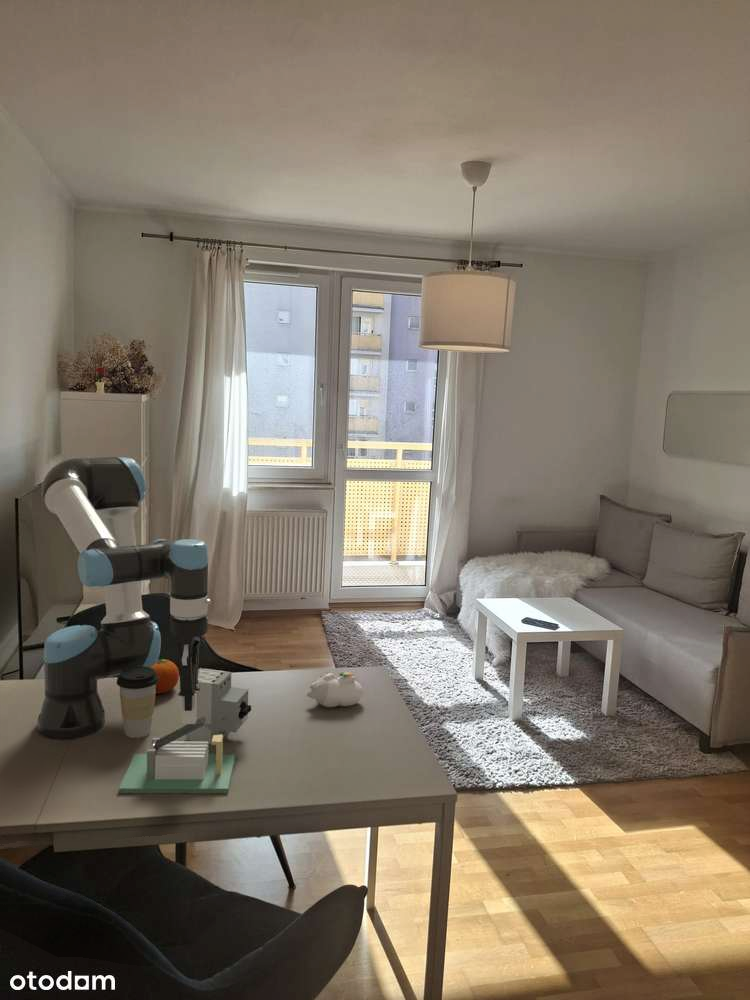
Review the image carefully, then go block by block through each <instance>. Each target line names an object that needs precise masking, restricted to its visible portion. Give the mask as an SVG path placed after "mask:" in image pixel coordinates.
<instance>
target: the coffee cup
mask: <svg viewBox="0 0 750 1000" xmlns="http://www.w3.org/2000/svg"><path fill="white" fill-rule="evenodd" d="M158 680H159V679H158V675H157V674H156V673H155V670H154V669H152V668H150V667H144V666H138V667H131V668H127V669H125V670H123V671H122V672H121V673H120V675H118V676H117V679H116V685H117V686H118V687H119V699H120V708H121V715H122V719H123V720H122V721H123V728H124V735H125V736H126V737H128V738H131V739H139V738H144V737H146V736H149V735H150V733H151V730H152V722H153V715H154V712H155V711H154V709H155V700H156V694H157V693H156V690H155V687H156V683H157V682H158Z"/></svg>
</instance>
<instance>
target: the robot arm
mask: <svg viewBox="0 0 750 1000" xmlns="http://www.w3.org/2000/svg"><path fill="white" fill-rule="evenodd" d="M146 486H147V485H146V480H145V476H144V472H143V470H142V468H141V466H140V464H138V462H137V461H136V460H135V459H133V458H130V457H119V456H109V457H90V458H88V457H85V458H83V457H82V458H79V457H73V458H69V459H66V460H62V461H61V462H58V463H57V464H55V466H53V467H51V469H50V470H49V471H48V472H47V473H46V475H45V476H44V479H43V482H42V484H41V498H42V501H43V502H44V505H45V507H46V508H47V509H48V511H50V512H51V513H52V514H55V515H57V517H58V519H59V520H60V522H61V523H62V526H63V527H64V529H65V530H66V532H67V533H68V536H69V537H70V539H71V540H72V542H73V544H74V545H75V547H76V549H77V551H78V552H79V555H78V558H77V574H78V576H79V581H80V582H81V583H82V585H84V586H85V587H89V588H91V587H93V588H94V587H103V591H104V600H105V608H106V609H105V613H106V614H105V616H104V617H103V619H102V620H101V621H100V627H101V629H100V630H97V628H96V627H94V626H93V625H90V624H89V625H88V624H83V625H80V624H77V625H71V626H67V627H64V628H61V629H58V630H56V631H54V632H53V633H52V634H50V635H49V636H47V638H46V640H45V641H44V646H43V647H44V648H43V656H42V659H43V660H42V661H43V662H44V664H43V667H44V669H43V670H44V672H43V673H44V674H43V675H44V699H43V702H42V705H41V710H40V713H39V714H38V717H37V722H36V723H37V731H38V733H39V734H41V736H44V737H46V738H51V739H57V740H59V739H60V740H62V739H63V740H64V739H67V740H68V739H74V738H75V739H76V738H81V737H84V736H87V735H91V734H93V733H95V732H97V731H98V730H100V729H101V728H103V726H104V725H105V723H106V711H105V707H104V706H103V702H102V700H101V698H100V697H101V696H100V694H99V691H98V680H102V679H107V678H111V677H116V676H117V677H118V676H120V673H121V672H122V671H123V670H125V669H127V668H131V667H138V666H144V667H150V668H151V667H152V666H154V665H155V663H156V662H157V659H159V658H160V654H161V653H160V652H161V647H162V646H161V645H162V643H161V642H162V640H161V632H160V629H159V626H158V624H157V623H156V622H155V621H152V620H151V618H150V614H148V613H147V612H146V611H144V609H143V601H142V592H141V591H142V590H141V589H142V588H141V581H142V582H143V581H151V580H157V579H166V580H169V583H170V585H169V587H170V588H169V589H170V593H169V601H170V602H169V612H170V615H171V617H170V618H169V619H170V622H169V623H170V624H169V625H170V633H171V635H172V636H173V637H176V638H179V639H180V642H179V643H178V645H177V652H178V655H179V656H178V657H177V664H178V670H179V690H180V691H179V692H178V694H177V695H178V696H179V697H181V698H182V699H181V701H182V702H181V705H182V706H181V714H182V715H181V718H182V719H181V720H182V721H181V722H182V723H181V724H182V725H185V724H195V723H196V692H195V691H200V686H197V684H198V670H199V660H200V659H199V657H200V647H201V639H200V637H202V636H205V635H206V634H207V633H208V630H209V629H208V628H209V623H208V621H209V619H208V617H209V616H208V615H207V613H208V605H210V604H211V602H212V601H211V599H210V598H208V593H209V592H208V591H209V590H208V589H209V588H208V587H209V556H208V555H209V553H208V544H207V543H206V542H205V541H203V540H200V539H186V538H185V539H184V538H183V539H177V540H175V541H173V540H170V539H164V538H161V539H160V538H159V539H156V540H154V541H151V542H150V543H147V544H137V540H136V539H137V538H136V528H135V519H134V515H135V514H136V513H137V511H138V510H139V509H140V505H139V503H141V502H143V501H144V500H145V497H146V490H147V487H146Z"/></svg>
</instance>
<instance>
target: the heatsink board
mask: <svg viewBox="0 0 750 1000" xmlns="http://www.w3.org/2000/svg"><path fill="white" fill-rule="evenodd" d="M160 738H161V737H152V738H151V743H152V742H153V741H154V740H156V741H157V740H158V739H160ZM223 744H224V738H223V735H213V738H212V744H211V745H212V746H215V747H216V748H215V749H216V750H215V751H216V752H215V753H212V754H211V753H210V754H209V744H208V742H200V741H190V740H184V741H182V740H181V741H179V740H178V741H176V740H174V741H172V742H170V743H168V744H166V745H164V746H163V747H161V748H159V749H157V750H156V749H150V748H149V749H148V748H147V750H146V753H135V754H134V755H133V757H132V759H131V762H130V764H129V766H128V768H127V770H126V771H125V772H126V773H125V774H124V776H123V779H122V781H121V783H120V785H119V787H118V794H229V790H230V785H231V780H232V775H233V771H234V765H235V761H236V754H233V753H231V754H227V753H226V754H224V753H223V751H224V750H223V748H224V745H223Z"/></svg>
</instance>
